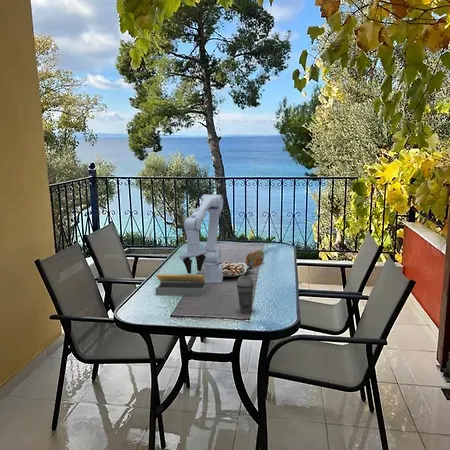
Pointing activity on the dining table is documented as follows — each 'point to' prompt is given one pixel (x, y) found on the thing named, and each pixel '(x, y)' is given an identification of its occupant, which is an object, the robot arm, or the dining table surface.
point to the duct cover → (180, 278)
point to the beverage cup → (245, 292)
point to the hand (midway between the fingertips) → (194, 272)
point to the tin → (254, 259)
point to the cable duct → (181, 288)
